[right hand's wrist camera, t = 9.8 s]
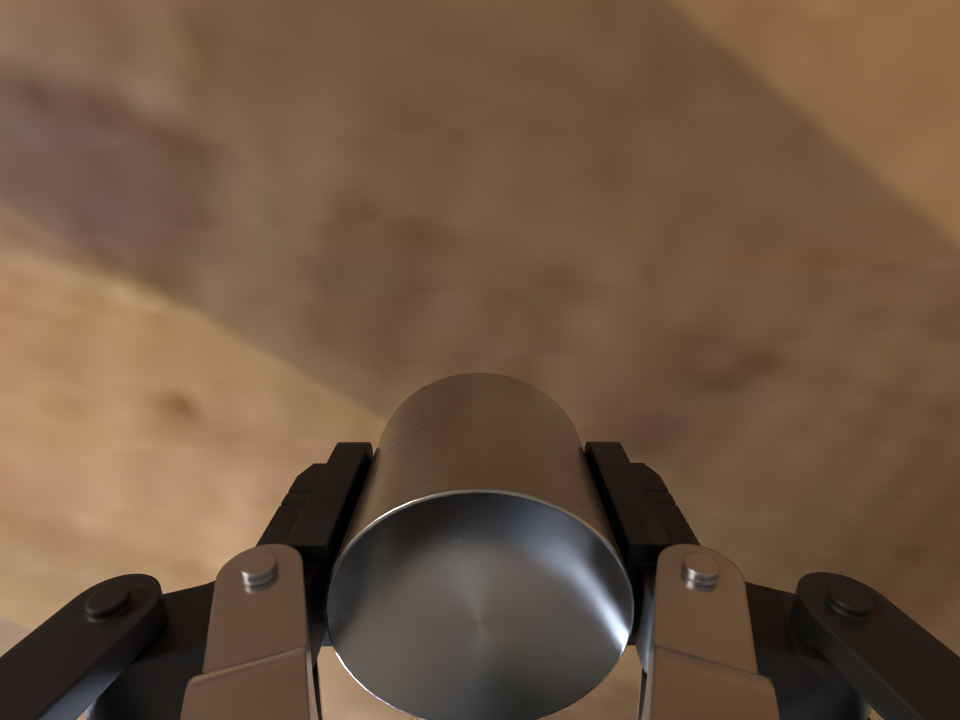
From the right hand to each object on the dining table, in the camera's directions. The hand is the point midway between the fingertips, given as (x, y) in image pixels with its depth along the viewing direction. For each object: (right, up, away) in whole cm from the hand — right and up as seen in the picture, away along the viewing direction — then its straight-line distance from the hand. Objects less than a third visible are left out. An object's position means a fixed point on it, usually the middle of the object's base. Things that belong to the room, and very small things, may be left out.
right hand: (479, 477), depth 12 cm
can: (0, 0, +1) cm, 0 cm away
